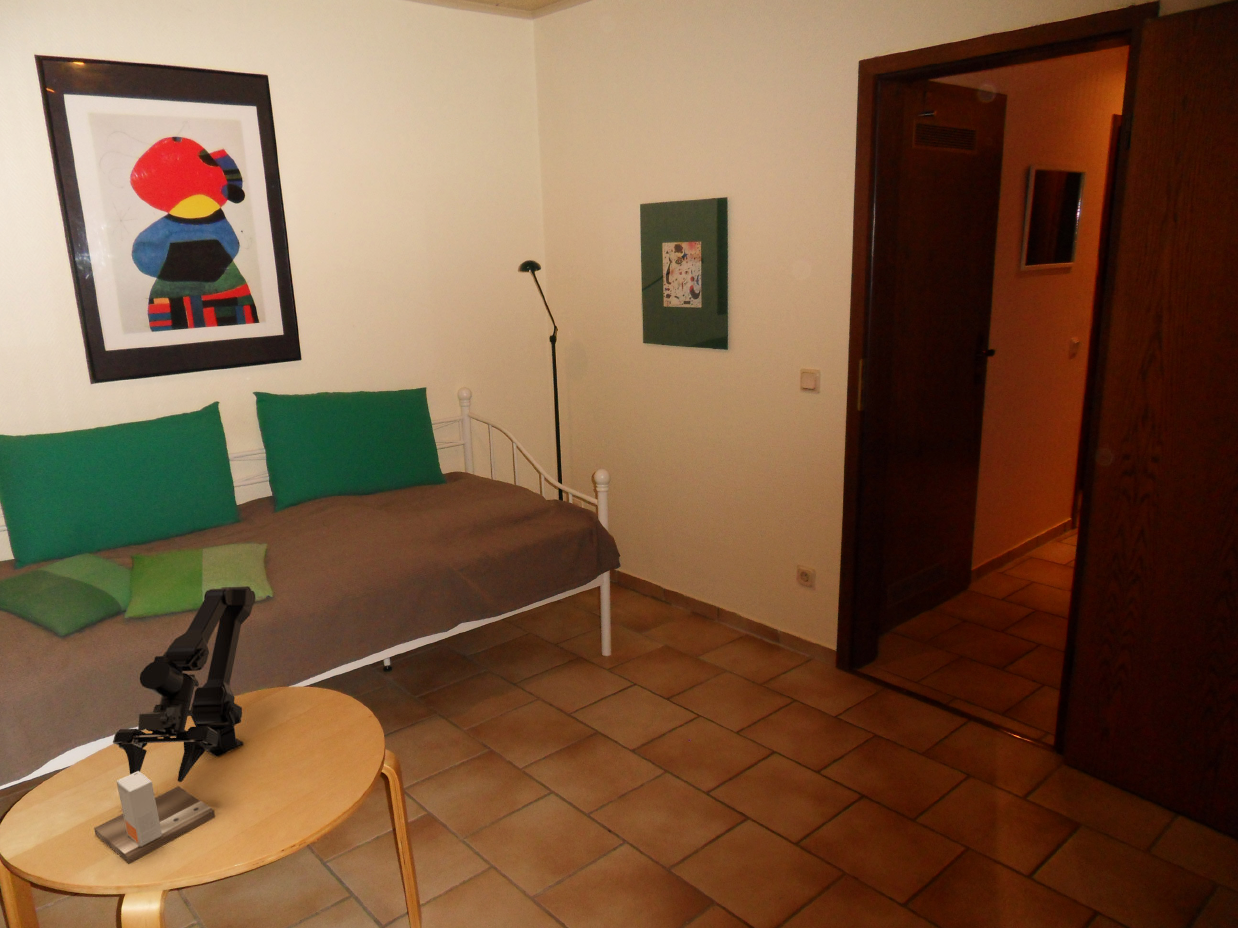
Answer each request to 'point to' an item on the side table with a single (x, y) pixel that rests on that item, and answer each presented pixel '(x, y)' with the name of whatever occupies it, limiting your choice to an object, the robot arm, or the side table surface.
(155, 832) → the skincare box
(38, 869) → the side table surface
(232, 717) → the robot arm
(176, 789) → the bent metal bracket plate
